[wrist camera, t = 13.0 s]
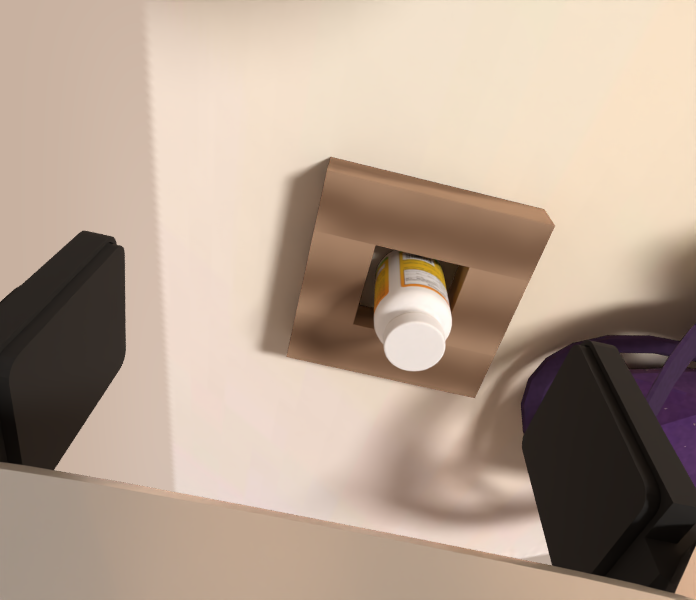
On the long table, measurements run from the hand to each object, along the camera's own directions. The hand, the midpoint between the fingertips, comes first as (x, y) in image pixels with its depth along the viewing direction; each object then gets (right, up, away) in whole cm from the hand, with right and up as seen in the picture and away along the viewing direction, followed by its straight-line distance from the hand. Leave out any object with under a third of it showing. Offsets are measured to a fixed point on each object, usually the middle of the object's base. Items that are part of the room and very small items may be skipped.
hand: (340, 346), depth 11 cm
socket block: (+5, +3, +32) cm, 33 cm away
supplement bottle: (+5, +3, +33) cm, 33 cm away
